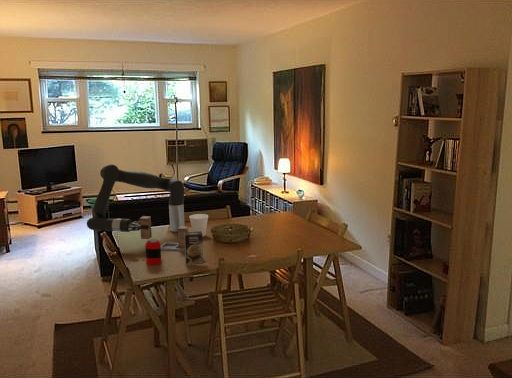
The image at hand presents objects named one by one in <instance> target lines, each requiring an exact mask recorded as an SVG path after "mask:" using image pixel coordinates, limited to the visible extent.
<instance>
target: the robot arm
mask: <svg viewBox="0 0 512 378" xmlns="http://www.w3.org/2000/svg"><path fill="white" fill-rule="evenodd" d="M99 175H100V177H101V178H102V180H103V181H102V184H101V187H100V190H99V192H98V193H97V195H96V198H95V201H94V204H93V205H94V206H93V209H92V213H93V214H94V217H90V218H89V219H88V220H87V221H86V227H87V228H88V229H89V230H92V231H94V232H101V231H107V232H117V233H118V232H119V233H130V232H134V231H135V232H137V231H141V230H142V229H149V226H148V225H140V219H138V220H137V221H136V220H135V221H132V219H131V218H106V212H107V208H108V203H109V200H110V197H111V195H112V191H113V188H114V186H115V184H116V183H123V184H127V185H130V186H135V187H138V188H144V189H159V190H163V191H166V192H169V194H170V195H169V196H170V198H169V200H168V210H169V211H168V213H169V230H170V232H174V233H176V232H177V233H178V228H179V227H180V226H184V227H185V212H184V211H185V209H184V207H185V206H184V201H185V186H184V185H185V184H184V183H183V181H181V180H178V179H176V178H167V177H162V176H161V177H160V176H158V175H155V174H152V173H148V172H143V171H139V170H138V171H136V170H122V169H120V168H119V167H118V166H117V165H115V164H112V163H111V164H107V165H105V166H103V167H102V168H101V170H100V171H99ZM152 227H153V222H151V228H152Z"/></svg>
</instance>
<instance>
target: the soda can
mask: <svg viewBox="0 0 512 378" xmlns="http://www.w3.org/2000/svg"><path fill="white" fill-rule="evenodd" d="M144 245H145V259H146V260H145V261H146V264H147V265H148V266H157V265H161V263H162V251H161V247H160V246H161V242H160V240H158V239H156V238H152V239H151V238H150V239H147V241H146V242H145V244H144Z"/></svg>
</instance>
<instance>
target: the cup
mask: <svg viewBox="0 0 512 378" xmlns="http://www.w3.org/2000/svg"><path fill="white" fill-rule="evenodd" d="M208 220H209V215H208V214H206V213H196V214H191V215H189V221H190V225H191V230H192V232H198V231H201V232H202V236H203V237H206V232H207V226H208Z"/></svg>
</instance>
